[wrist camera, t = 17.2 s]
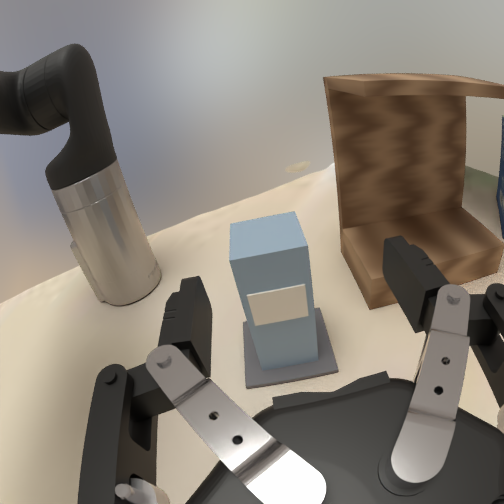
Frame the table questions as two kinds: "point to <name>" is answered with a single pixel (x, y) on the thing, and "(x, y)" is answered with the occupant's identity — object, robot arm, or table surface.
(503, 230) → the protein box
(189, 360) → the robot arm
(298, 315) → the carton
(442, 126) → the shelf
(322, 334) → the mat
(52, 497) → the table surface
